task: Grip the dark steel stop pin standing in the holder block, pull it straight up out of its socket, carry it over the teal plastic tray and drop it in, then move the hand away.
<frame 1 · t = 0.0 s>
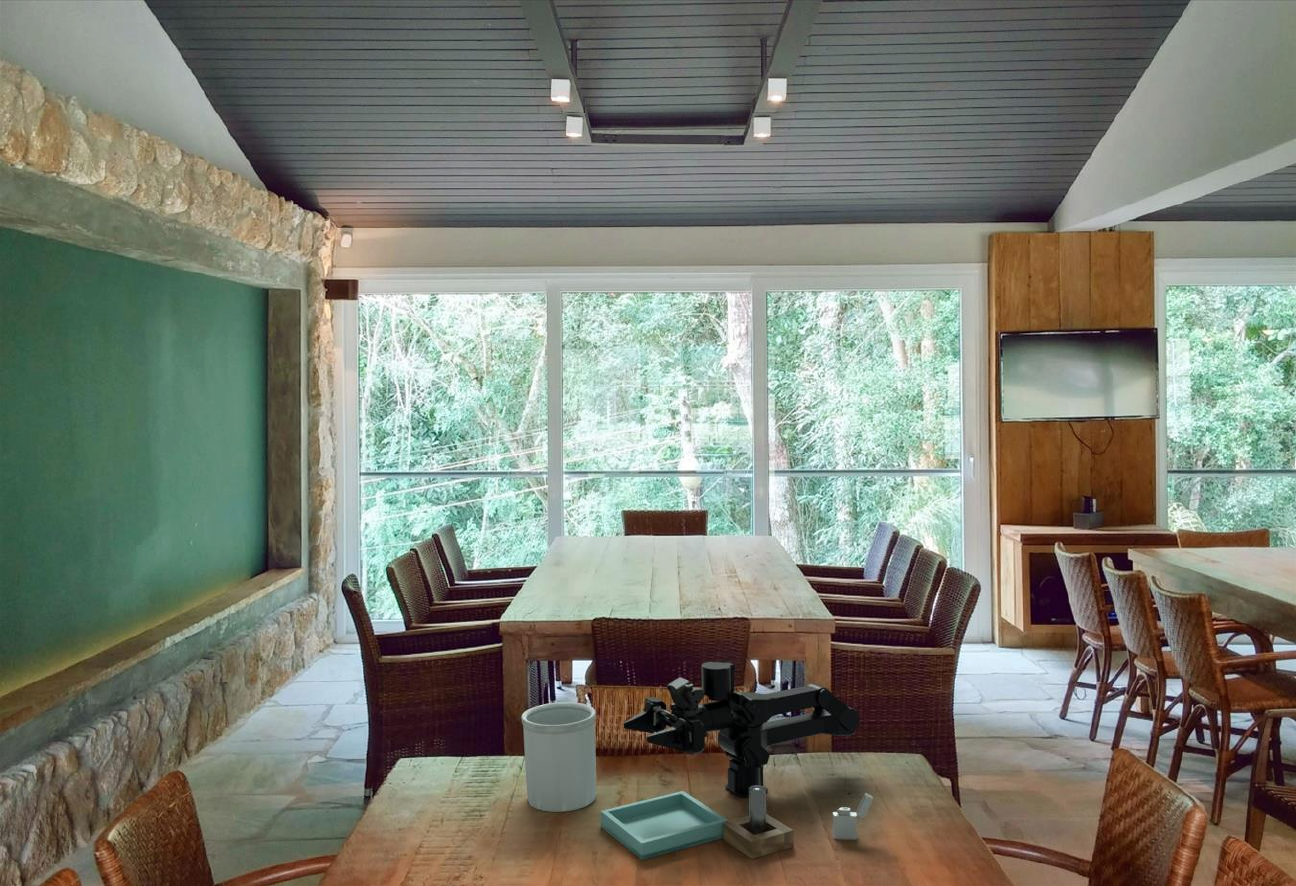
hand: (635, 732, 194), 17 cm above the table, tool horizontal, fingers open, 9 cm apart
stop pin: (757, 815, 183), in the pin holder
tray: (663, 831, 189), on the table
lighter: (853, 838, 185), on the table
utensil holder: (560, 799, 205), on the table
pin holder: (758, 843, 183), on the table
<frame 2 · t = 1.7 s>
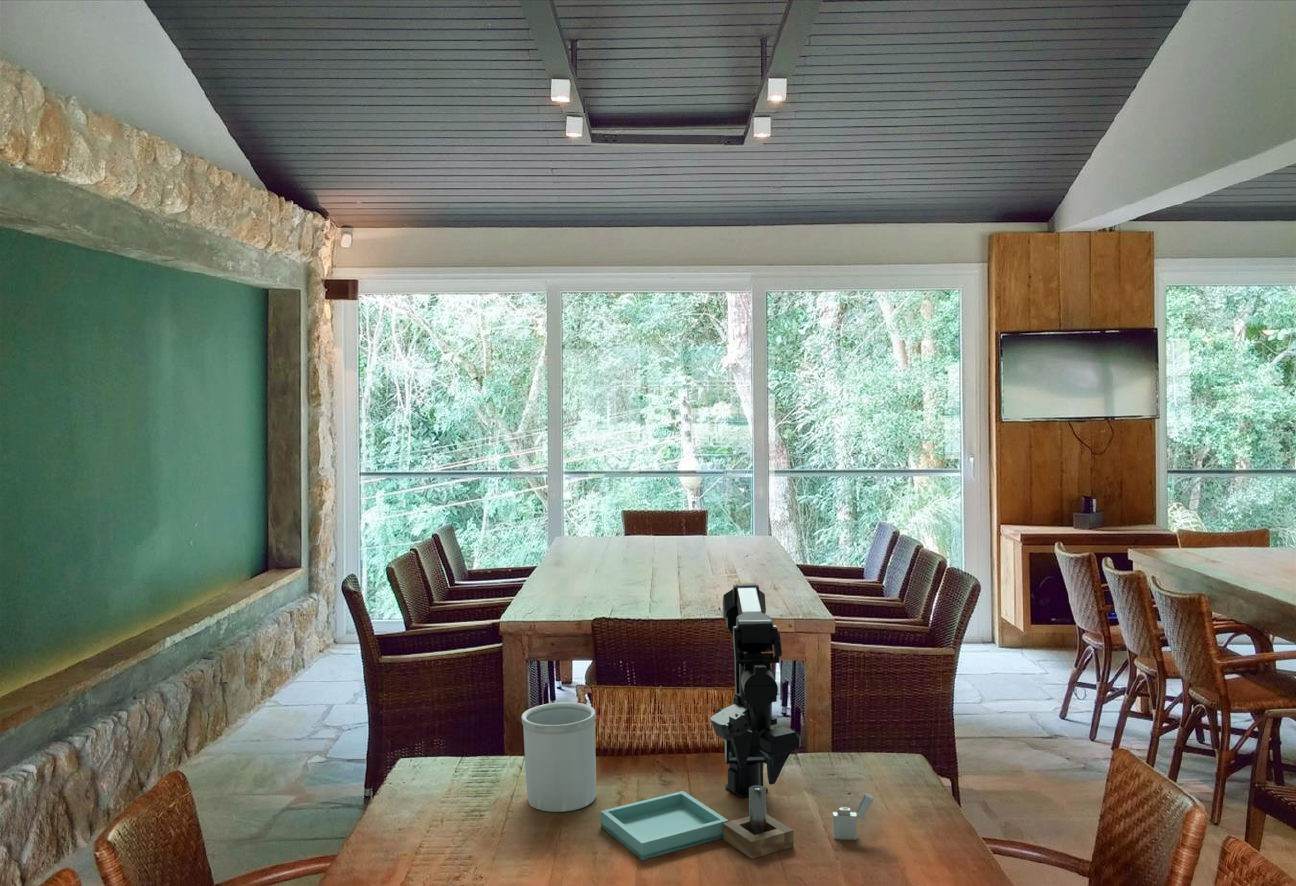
hand: (756, 775, 182), 12 cm above the table, tool pointing down, fingers open, 9 cm apart
nothing on the table moved.
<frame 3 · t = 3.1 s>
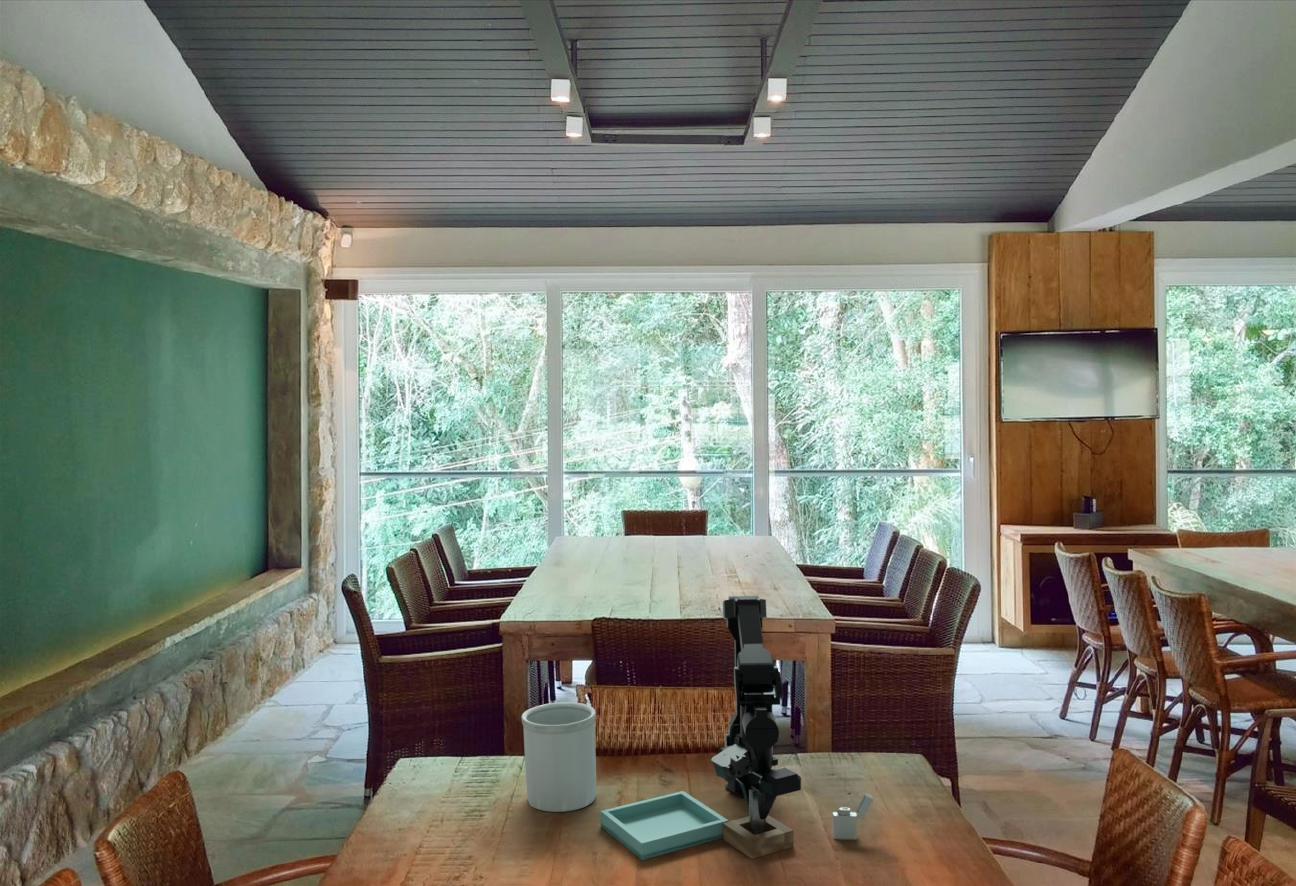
hand: (757, 815, 183), 5 cm above the table, tool pointing down, fingers closed on stop pin, 3 cm apart
stop pin: (757, 815, 183), in the pin holder, touching gripper
everything else where it was.
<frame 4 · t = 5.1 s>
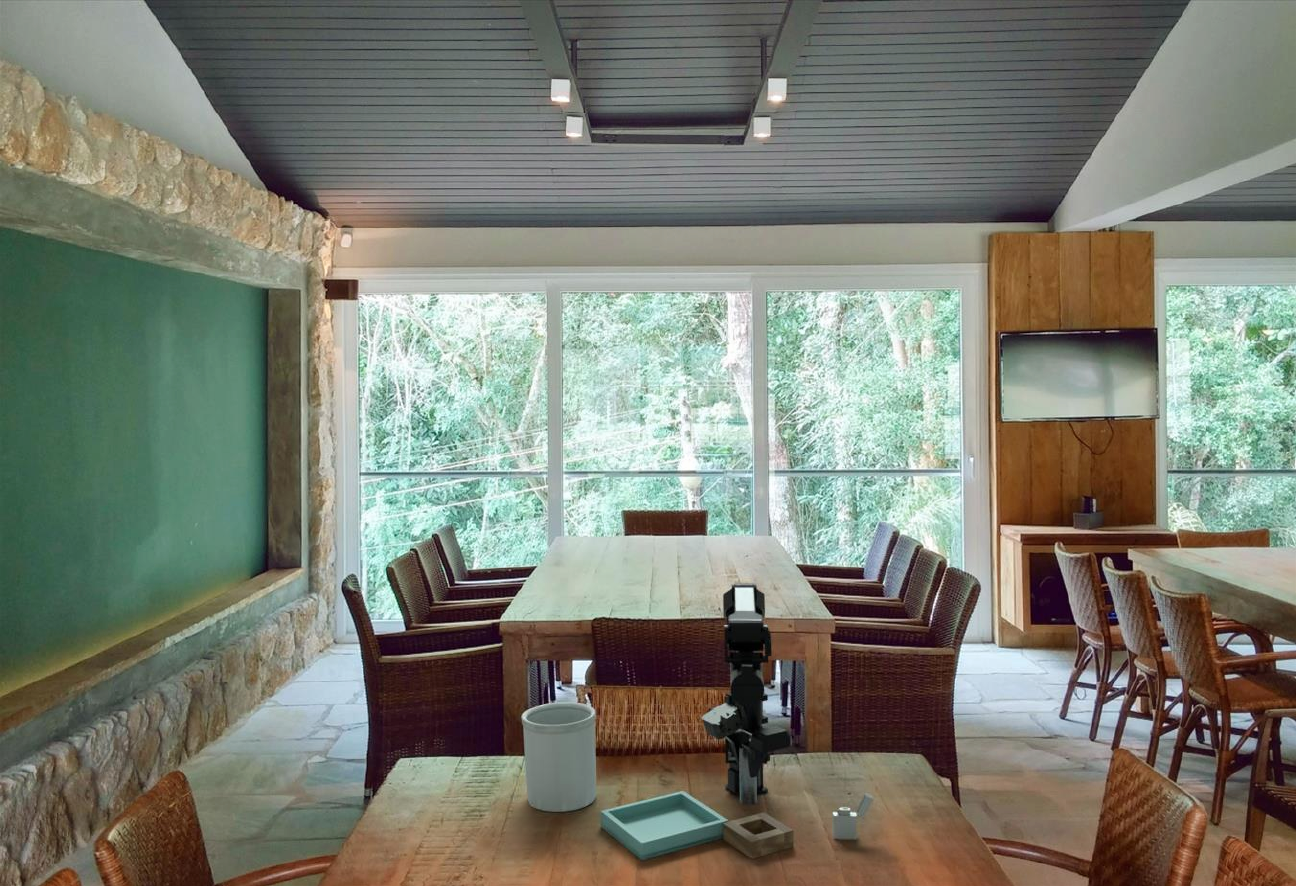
hand: (747, 774, 183), 12 cm above the table, tool pointing down, fingers closed on stop pin, 3 cm apart
stop pin: (747, 774, 183), point 12 cm above the table, touching gripper
everything else where it was.
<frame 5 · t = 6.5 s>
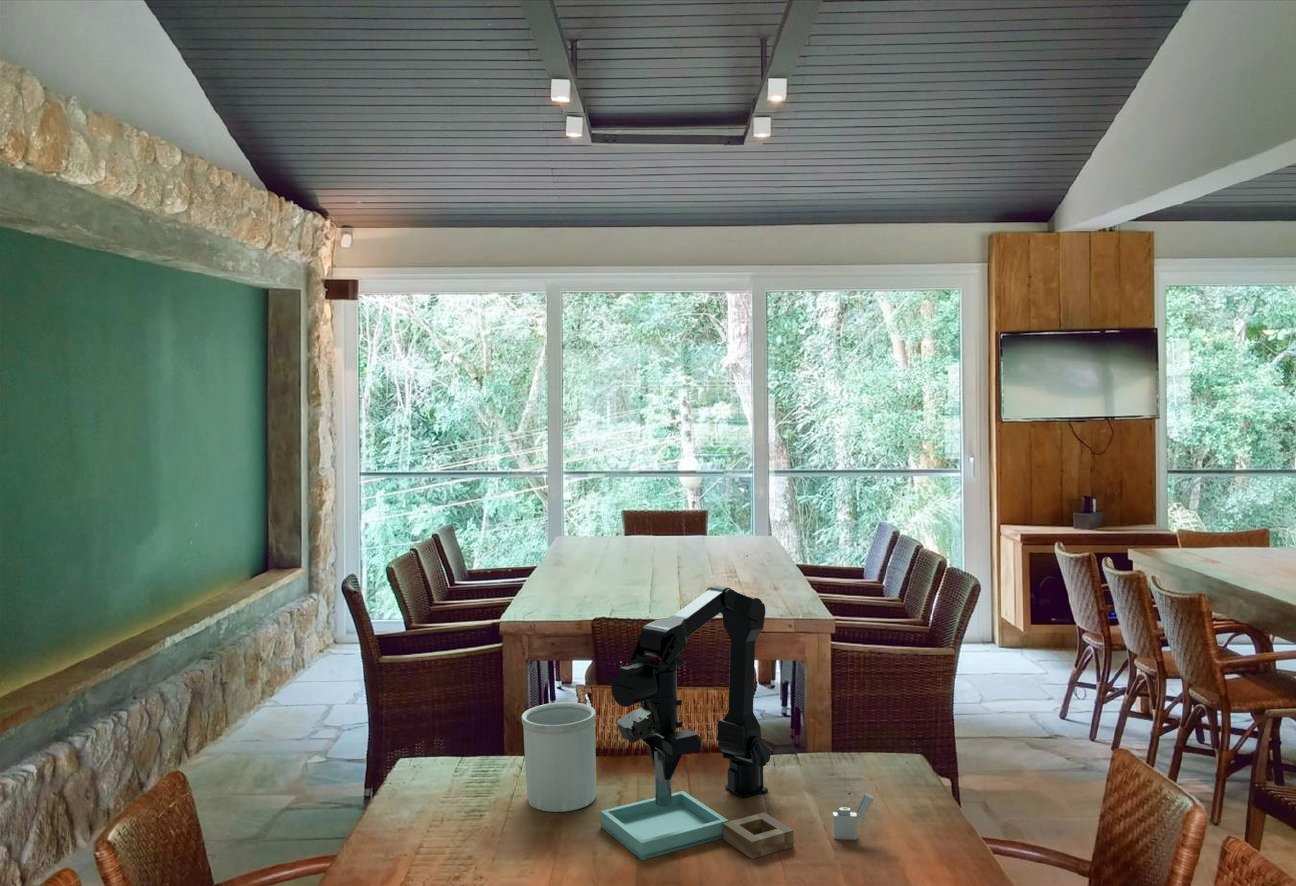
hand: (663, 776, 188), 10 cm above the table, tool pointing down, fingers closed on stop pin, 3 cm apart
stop pin: (663, 776, 188), point 10 cm above the table, touching gripper
everything else where it was.
when the fingers open (7 cm above the table, at t = 7.2 s): stop pin drops 1 cm, resting on tray.
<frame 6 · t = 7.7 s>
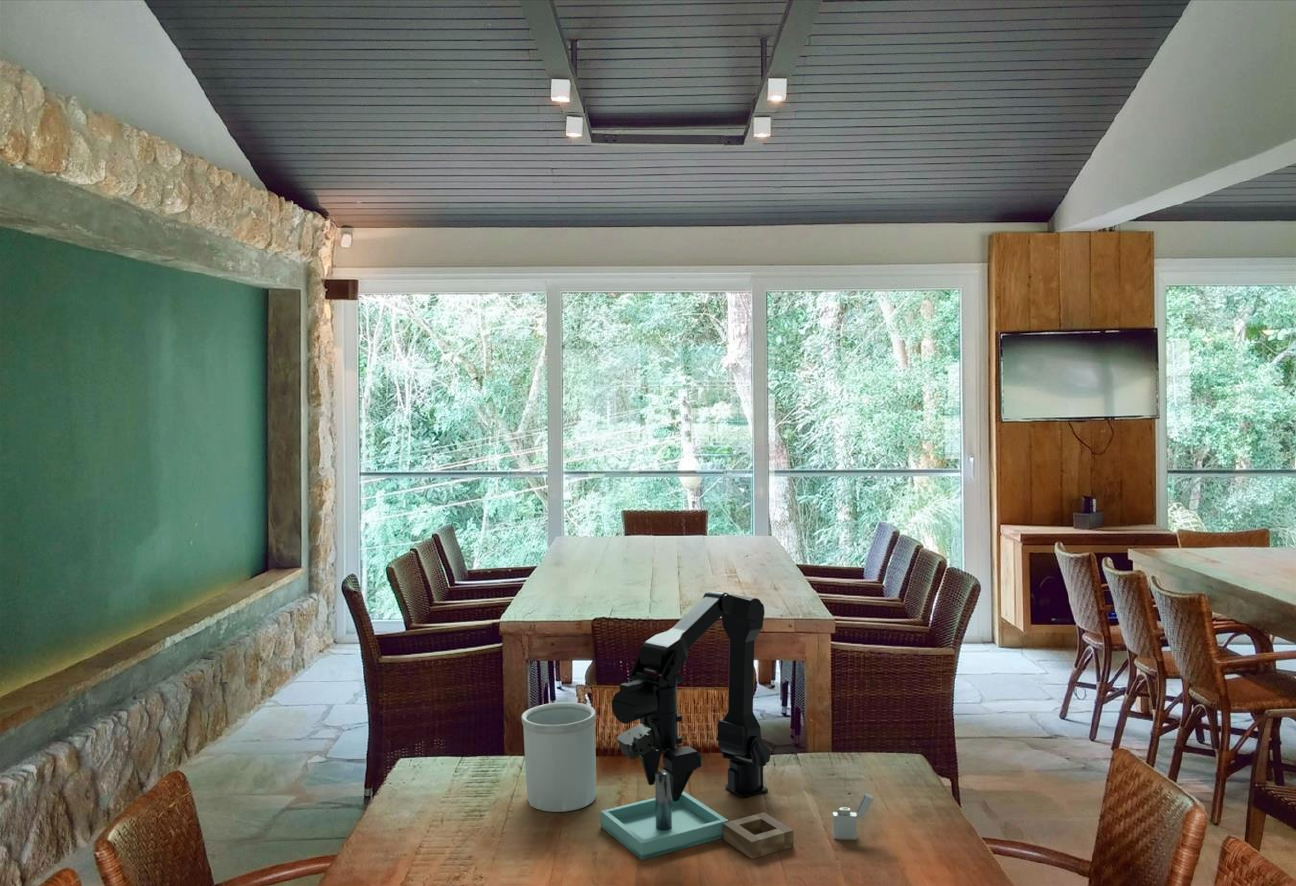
hand: (663, 792, 188), 7 cm above the table, tool pointing down, fingers open, 9 cm apart
stop pin: (663, 800, 188), in the tray, point 6 cm above the table
everything else where it was.
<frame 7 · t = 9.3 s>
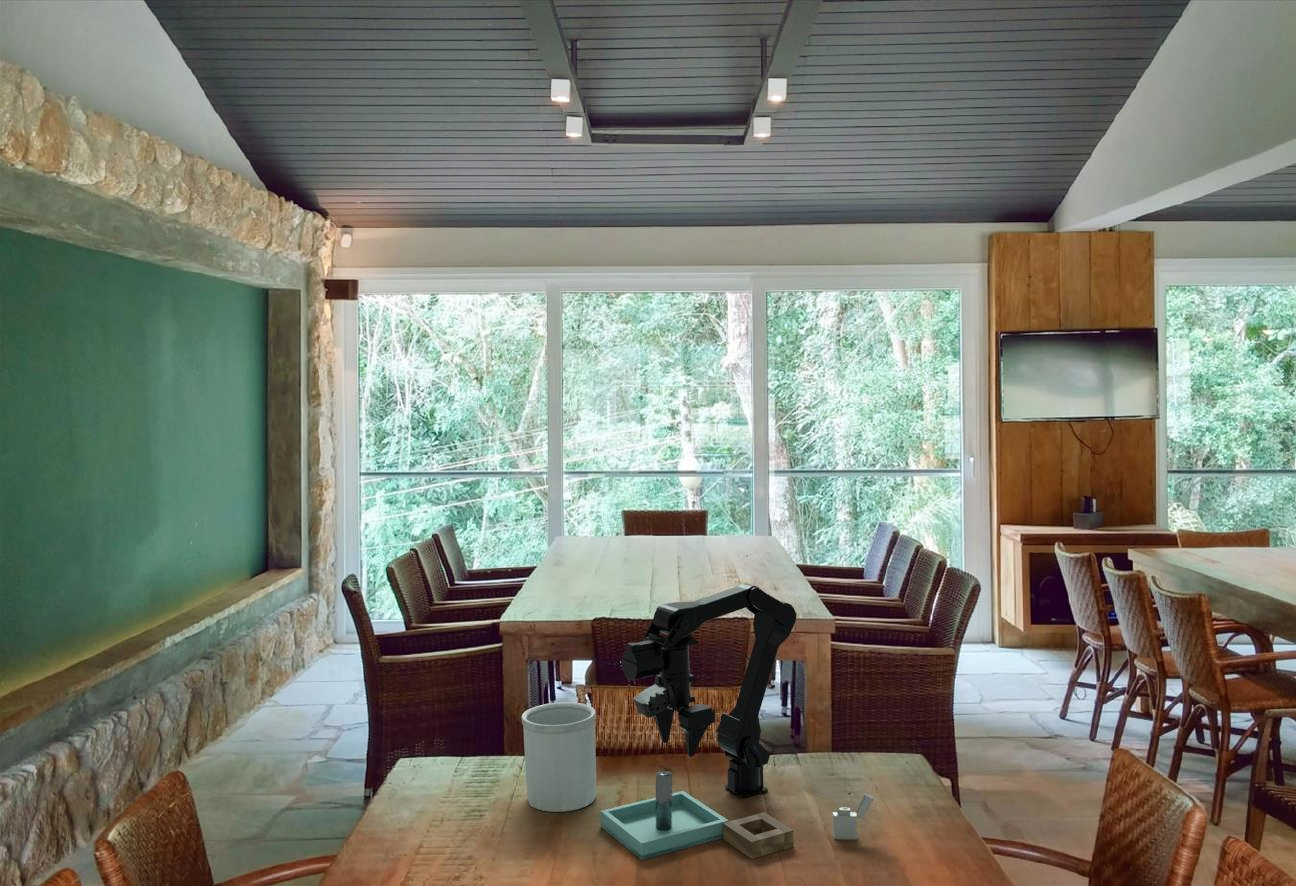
hand: (678, 749, 198), 12 cm above the table, tool pointing down, fingers open, 9 cm apart
nothing on the table moved.
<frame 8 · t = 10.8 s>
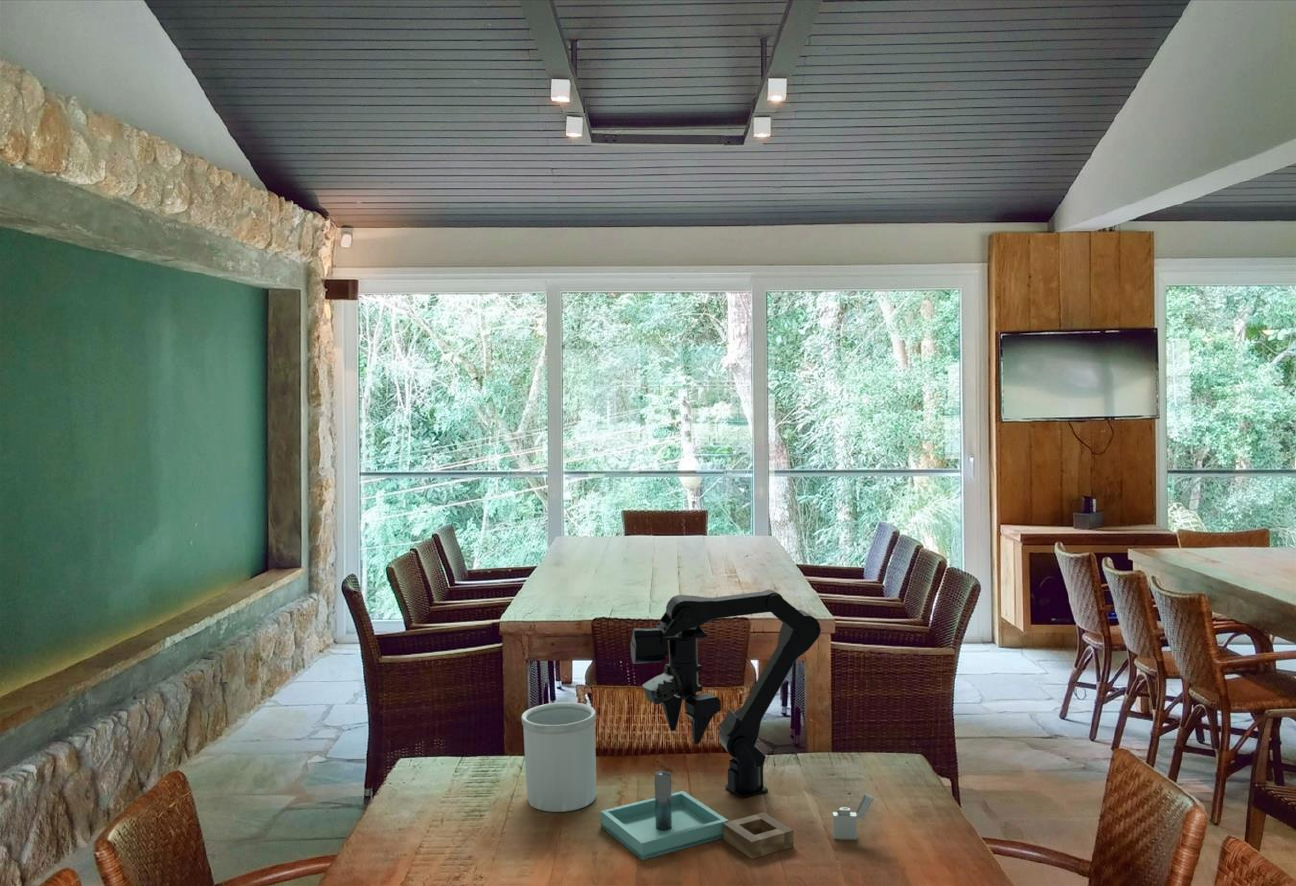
hand: (684, 737, 204), 12 cm above the table, tool pointing down, fingers open, 9 cm apart
nothing on the table moved.
at the end: stop pin inside the target area on the tray (0.0 cm from its centre), point 5.8 cm above the tray's base; stop pin moved 17.7 cm from its start; the gripper is holding nothing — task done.
